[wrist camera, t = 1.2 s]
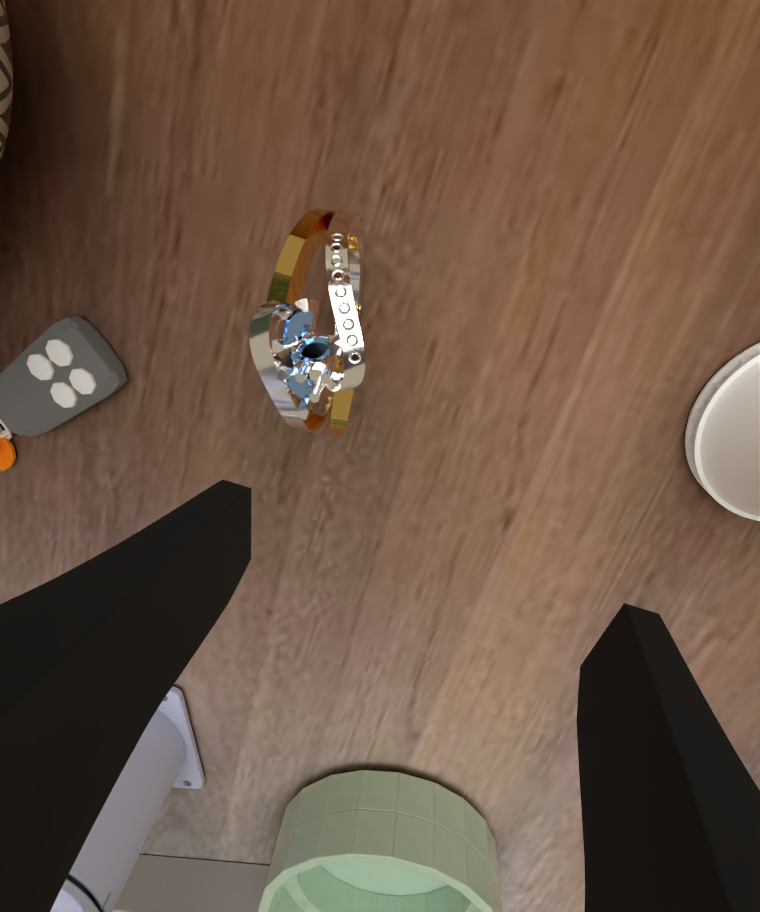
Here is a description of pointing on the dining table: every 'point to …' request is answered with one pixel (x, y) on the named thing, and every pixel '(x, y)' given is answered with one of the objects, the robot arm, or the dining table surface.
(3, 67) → the planter
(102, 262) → the dining table surface
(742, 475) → the vase
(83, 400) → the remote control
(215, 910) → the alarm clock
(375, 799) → the celadon bowl
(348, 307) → the ring
